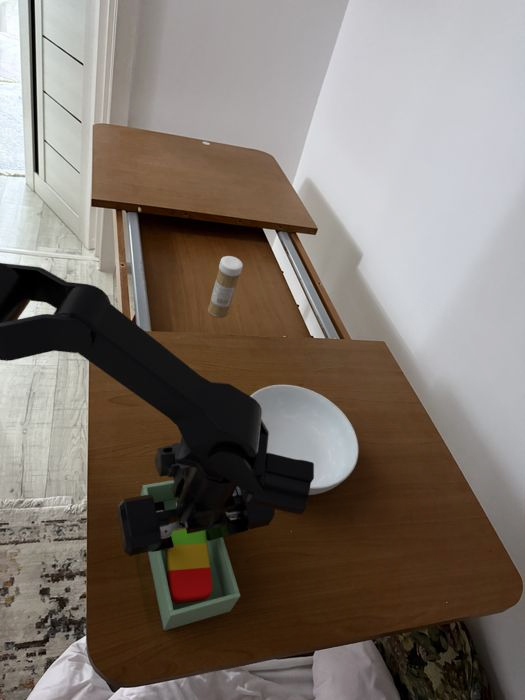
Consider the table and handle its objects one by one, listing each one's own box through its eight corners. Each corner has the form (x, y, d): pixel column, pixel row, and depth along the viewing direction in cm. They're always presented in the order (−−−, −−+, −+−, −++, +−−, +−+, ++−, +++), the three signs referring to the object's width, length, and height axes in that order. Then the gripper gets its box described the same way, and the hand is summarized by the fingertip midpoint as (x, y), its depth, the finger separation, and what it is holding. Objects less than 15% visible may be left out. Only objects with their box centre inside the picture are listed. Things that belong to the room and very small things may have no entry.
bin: (230, 611, 67) (240, 596, 63) (163, 631, 63) (170, 616, 59) (197, 493, 78) (204, 474, 74) (138, 504, 74) (142, 485, 70)
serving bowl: (357, 445, 94) (373, 423, 89) (318, 534, 79) (335, 513, 74) (261, 389, 97) (272, 365, 92) (206, 465, 82) (215, 440, 77)
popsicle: (168, 605, 62) (170, 600, 61) (161, 495, 73) (163, 488, 71) (211, 601, 64) (214, 595, 63) (199, 494, 74) (201, 487, 73)
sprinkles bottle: (230, 310, 111) (246, 260, 102) (223, 321, 108) (239, 271, 99) (211, 302, 111) (225, 252, 102) (204, 313, 108) (217, 262, 99)
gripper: (261, 416, 66) (233, 478, 77) (116, 433, 58) (106, 500, 69) (293, 492, 59) (256, 548, 70) (132, 523, 51) (118, 582, 62)
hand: (186, 542), depth 68 cm, fingers closed on popsicle, 6 cm apart
